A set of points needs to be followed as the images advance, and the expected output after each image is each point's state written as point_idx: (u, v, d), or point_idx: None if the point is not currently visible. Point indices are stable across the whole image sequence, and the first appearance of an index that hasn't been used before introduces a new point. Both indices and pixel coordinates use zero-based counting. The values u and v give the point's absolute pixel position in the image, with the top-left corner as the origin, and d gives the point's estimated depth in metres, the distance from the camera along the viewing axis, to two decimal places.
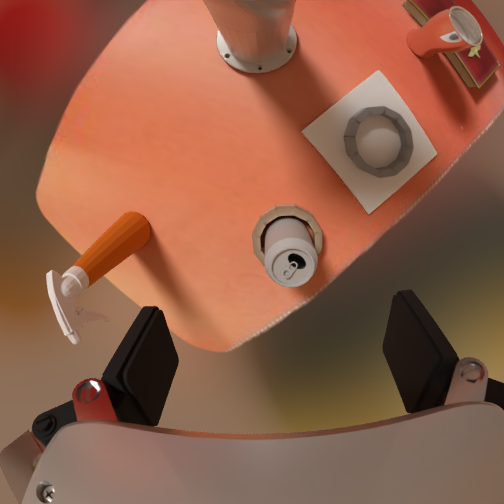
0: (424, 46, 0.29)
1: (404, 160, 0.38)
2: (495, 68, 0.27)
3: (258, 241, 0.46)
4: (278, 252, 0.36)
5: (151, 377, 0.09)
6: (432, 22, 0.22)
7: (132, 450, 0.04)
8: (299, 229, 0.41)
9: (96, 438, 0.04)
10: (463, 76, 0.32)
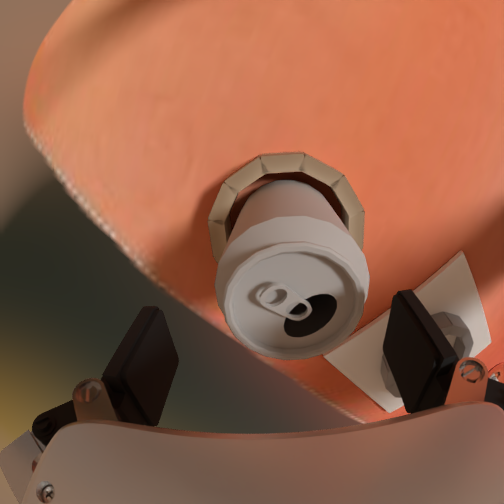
0: None
1: None
2: None
3: (290, 167, 0.18)
4: (352, 272, 0.11)
5: (151, 377, 0.09)
6: None
7: (132, 450, 0.04)
8: None
9: (96, 438, 0.04)
10: None
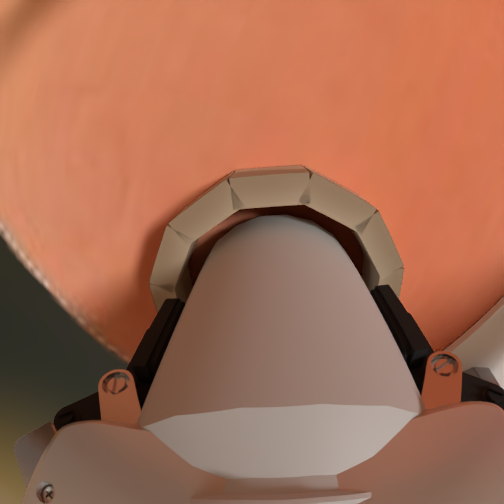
0: None
1: None
2: None
3: (283, 198, 0.10)
4: None
5: None
6: None
7: (132, 450, 0.04)
8: None
9: (96, 438, 0.04)
10: None
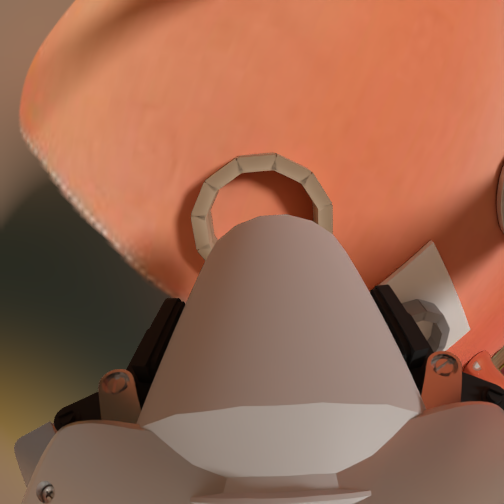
0: (483, 374, 0.29)
1: None
2: None
3: (263, 167, 0.21)
4: None
5: None
6: None
7: (132, 450, 0.04)
8: None
9: (96, 438, 0.04)
10: None
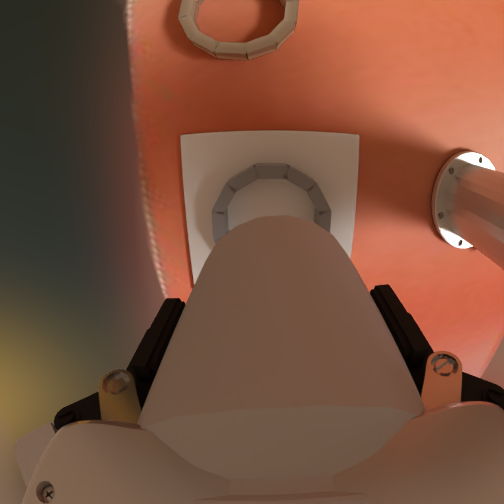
0: None
1: None
2: None
3: None
4: None
5: None
6: None
7: (132, 450, 0.04)
8: None
9: (96, 438, 0.04)
10: None
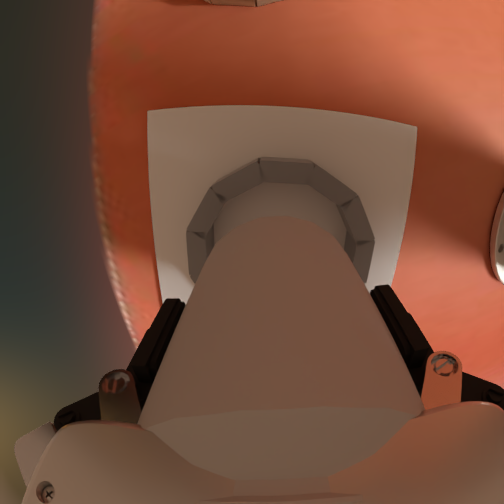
0: None
1: None
2: None
3: None
4: None
5: None
6: None
7: (132, 450, 0.04)
8: None
9: (95, 438, 0.04)
10: None
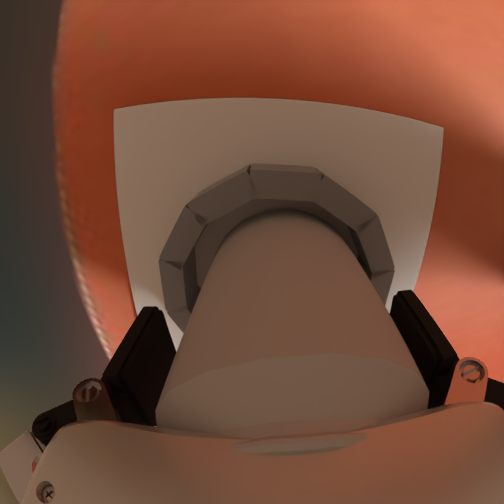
0: None
1: (181, 310, 0.14)
2: None
3: None
4: None
5: (151, 377, 0.09)
6: None
7: (132, 450, 0.04)
8: None
9: (96, 438, 0.04)
10: None
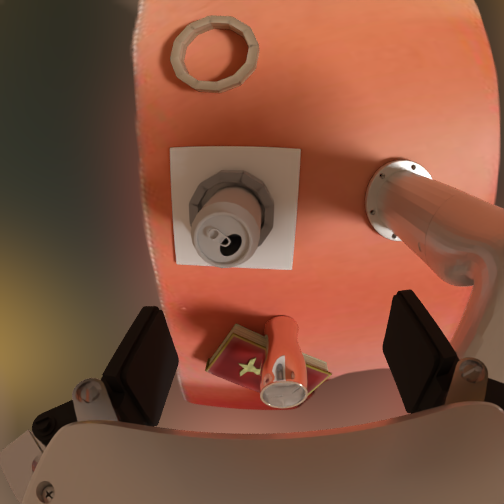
0: (281, 332, 0.43)
1: None
2: (212, 364, 0.48)
3: (239, 27, 0.27)
4: (243, 223, 0.28)
5: (151, 377, 0.09)
6: (302, 362, 0.38)
7: (132, 450, 0.04)
8: None
9: (96, 438, 0.04)
10: (248, 331, 0.48)
